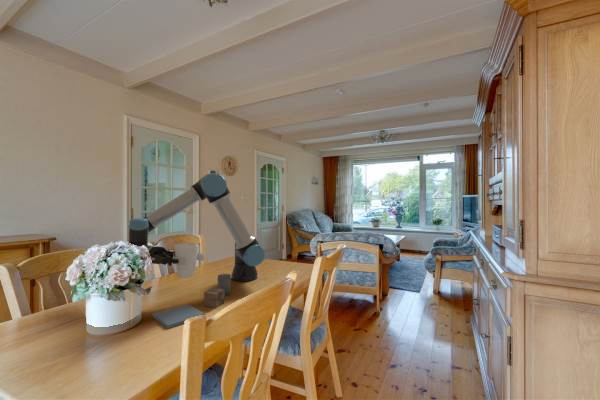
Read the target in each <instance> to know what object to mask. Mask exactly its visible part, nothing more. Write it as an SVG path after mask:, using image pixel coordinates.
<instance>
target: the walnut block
mask: <svg viewBox="0 0 600 400" xmlns="http://www.w3.org/2000/svg"><path fill="white" fill-rule="evenodd" d="M203 293H204V294H203V298H204V299H203V307H206V308H207V307H208V308H213V309H217V308H219V307H220V306H222V305H223V304H225V296H224V293H225V290H223V289H218V288H215V287H214V288H213V287H212V288H211V289H207V290H206V291H204V292H203Z"/></svg>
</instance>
